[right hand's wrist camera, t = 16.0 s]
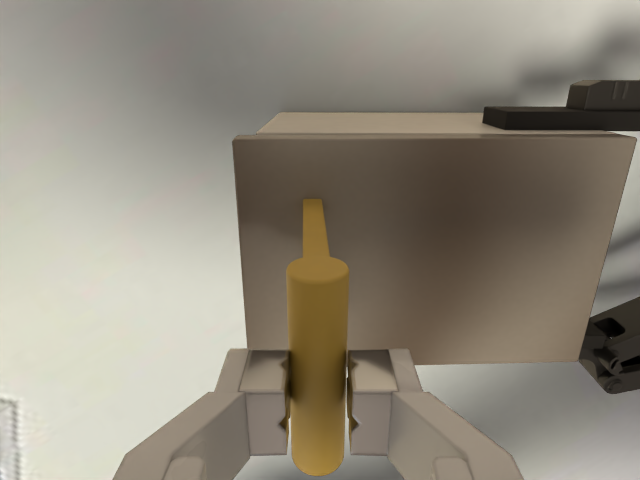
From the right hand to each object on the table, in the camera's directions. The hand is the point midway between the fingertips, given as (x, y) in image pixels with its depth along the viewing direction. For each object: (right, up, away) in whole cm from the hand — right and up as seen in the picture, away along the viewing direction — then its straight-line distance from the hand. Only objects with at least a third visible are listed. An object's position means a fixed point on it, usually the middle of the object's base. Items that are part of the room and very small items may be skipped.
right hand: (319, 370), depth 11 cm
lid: (+4, +3, +7) cm, 9 cm away
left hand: (+8, +4, +10) cm, 13 cm away
